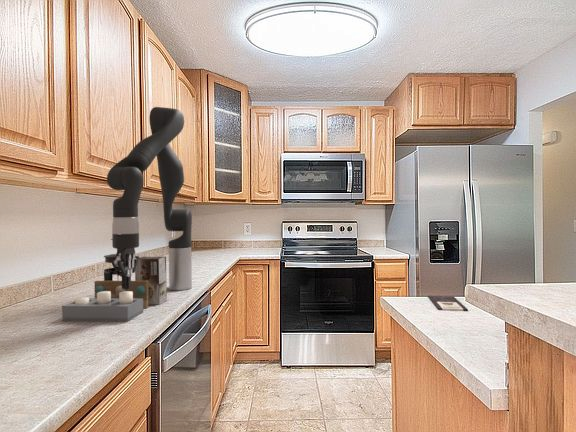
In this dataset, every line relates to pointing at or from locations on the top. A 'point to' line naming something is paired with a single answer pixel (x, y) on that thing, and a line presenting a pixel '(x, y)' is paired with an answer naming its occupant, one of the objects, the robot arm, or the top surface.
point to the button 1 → (82, 300)
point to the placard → (116, 287)
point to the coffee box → (153, 277)
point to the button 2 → (104, 297)
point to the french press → (110, 271)
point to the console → (102, 311)
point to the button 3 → (126, 297)
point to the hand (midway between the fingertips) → (126, 288)
